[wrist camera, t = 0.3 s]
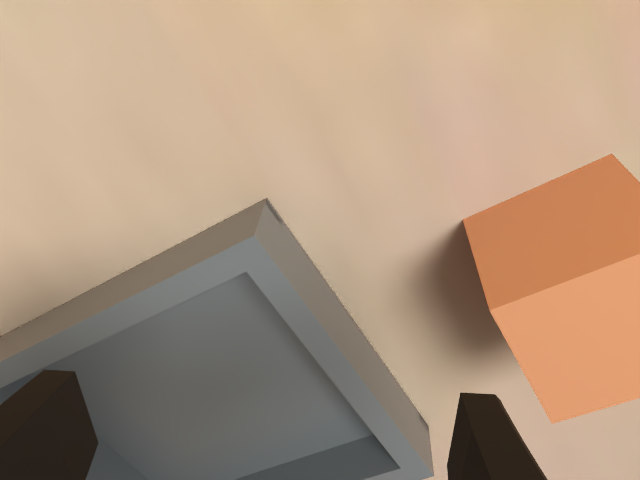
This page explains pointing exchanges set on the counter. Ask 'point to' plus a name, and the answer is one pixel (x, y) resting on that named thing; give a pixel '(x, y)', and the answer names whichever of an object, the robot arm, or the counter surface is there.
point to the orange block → (568, 285)
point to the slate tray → (226, 367)
